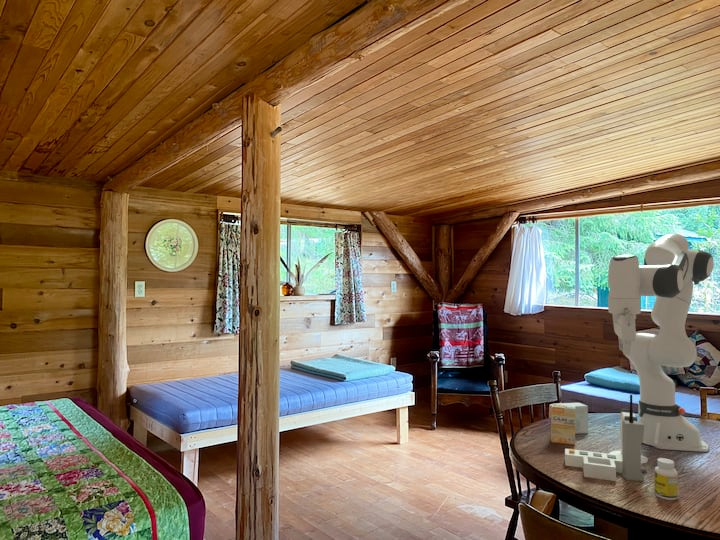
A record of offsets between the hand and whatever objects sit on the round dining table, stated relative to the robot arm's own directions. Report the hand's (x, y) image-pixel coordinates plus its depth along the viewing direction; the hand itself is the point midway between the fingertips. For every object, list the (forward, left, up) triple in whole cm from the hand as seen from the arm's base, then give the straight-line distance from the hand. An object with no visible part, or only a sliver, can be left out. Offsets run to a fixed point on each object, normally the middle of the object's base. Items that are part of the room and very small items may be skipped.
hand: (624, 352), depth 156 cm
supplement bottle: (-9, +14, -37) cm, 41 cm away
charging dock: (+5, +1, -37) cm, 37 cm away
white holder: (-3, -15, -37) cm, 40 cm away
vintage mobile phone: (-2, +4, -37) cm, 37 cm away
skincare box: (+14, -39, -37) cm, 56 cm away
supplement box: (+17, -24, -37) cm, 48 cm away
